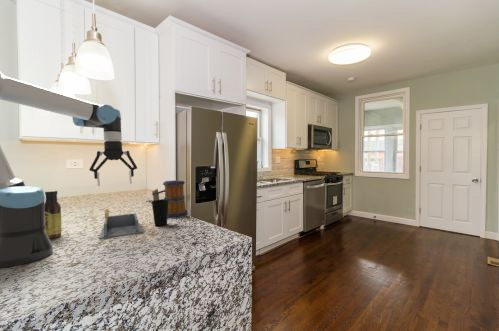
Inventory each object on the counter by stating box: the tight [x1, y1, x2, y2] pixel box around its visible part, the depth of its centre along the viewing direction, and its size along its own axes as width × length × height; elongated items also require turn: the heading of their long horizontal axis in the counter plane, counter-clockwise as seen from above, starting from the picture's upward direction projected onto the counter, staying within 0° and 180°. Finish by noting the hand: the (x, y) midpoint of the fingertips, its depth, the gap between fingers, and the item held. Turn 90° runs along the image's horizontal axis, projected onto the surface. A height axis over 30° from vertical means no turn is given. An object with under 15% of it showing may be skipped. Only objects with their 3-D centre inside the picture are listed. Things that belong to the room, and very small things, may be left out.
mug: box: [151, 179, 189, 219], centre depth 137 cm, size 19×14×20 cm
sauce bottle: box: [44, 189, 63, 239], centre depth 102 cm, size 7×6×20 cm
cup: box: [151, 199, 168, 228], centre depth 117 cm, size 8×8×12 cm
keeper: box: [99, 208, 143, 240], centre depth 109 cm, size 18×16×9 cm
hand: (115, 184), depth 117 cm, fingers open, 13 cm apart
